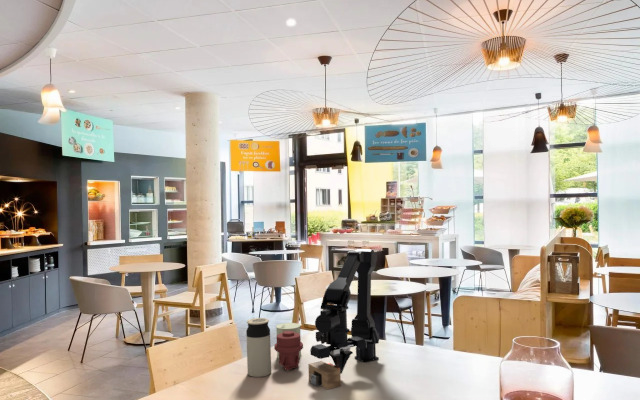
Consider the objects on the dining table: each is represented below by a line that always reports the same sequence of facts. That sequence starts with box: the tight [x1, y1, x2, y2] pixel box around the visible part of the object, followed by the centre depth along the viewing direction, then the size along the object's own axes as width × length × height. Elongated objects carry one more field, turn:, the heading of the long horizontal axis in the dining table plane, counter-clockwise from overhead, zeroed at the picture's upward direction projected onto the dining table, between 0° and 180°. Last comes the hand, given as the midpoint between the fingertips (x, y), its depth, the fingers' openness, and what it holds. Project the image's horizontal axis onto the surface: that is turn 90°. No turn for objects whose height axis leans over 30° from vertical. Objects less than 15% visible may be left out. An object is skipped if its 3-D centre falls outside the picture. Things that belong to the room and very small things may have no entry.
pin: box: [310, 362, 340, 388], centre depth 158 cm, size 8×6×5 cm
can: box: [275, 322, 302, 360], centre depth 185 cm, size 9×9×12 cm
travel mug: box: [245, 317, 272, 378], centre depth 168 cm, size 8×8×18 cm
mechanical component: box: [273, 331, 304, 372], centre depth 173 cm, size 12×10×10 cm
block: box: [307, 360, 342, 390], centre depth 158 cm, size 5×11×5 cm, turn 32°
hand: (339, 373), depth 161 cm, fingers closed
